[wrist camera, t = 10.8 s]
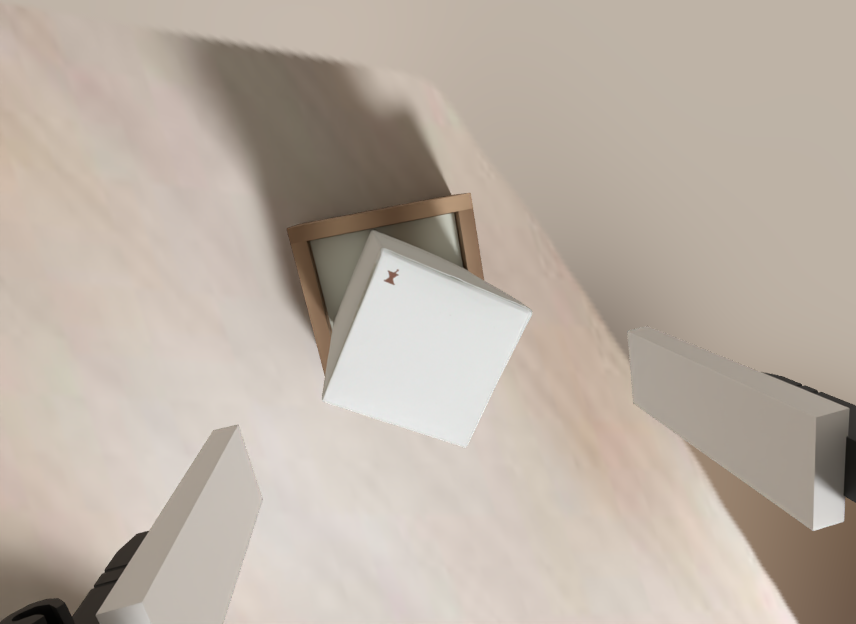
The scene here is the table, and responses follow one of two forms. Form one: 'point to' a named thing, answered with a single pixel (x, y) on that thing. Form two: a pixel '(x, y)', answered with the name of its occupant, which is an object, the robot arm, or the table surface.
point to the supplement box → (419, 341)
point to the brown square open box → (346, 237)
